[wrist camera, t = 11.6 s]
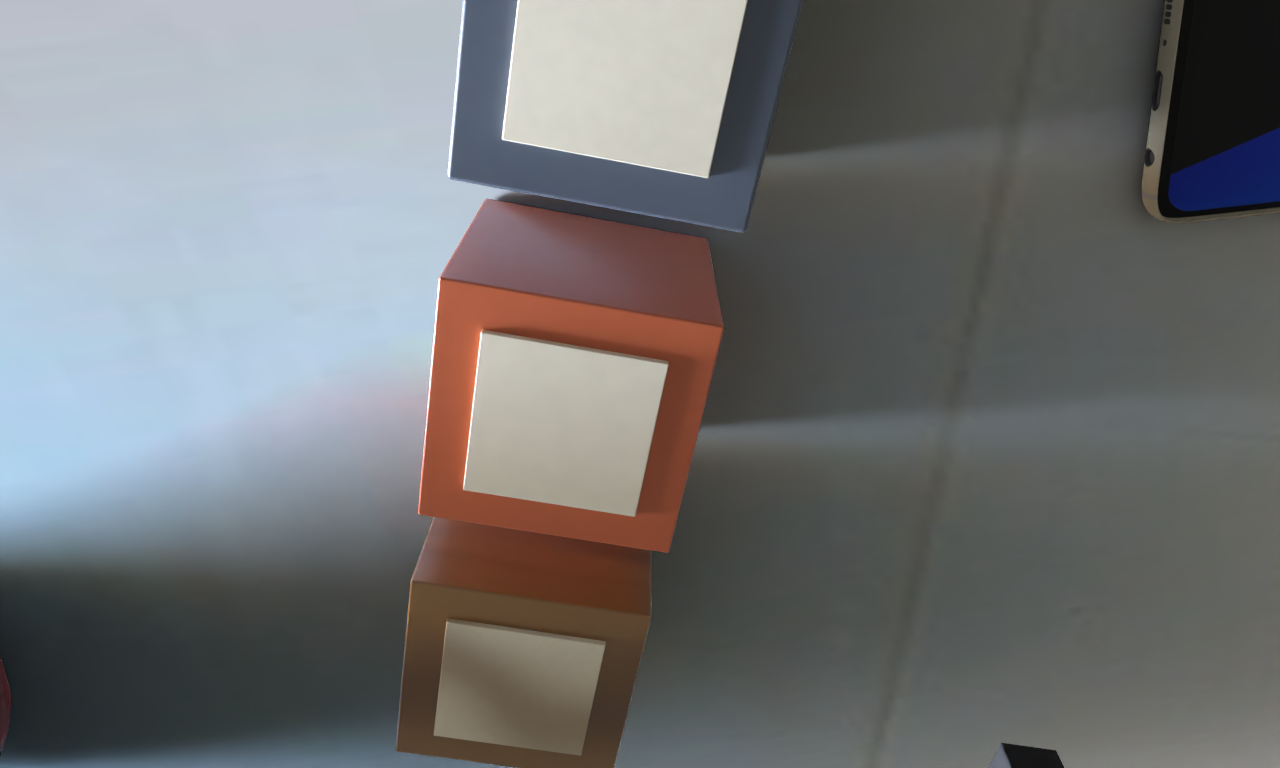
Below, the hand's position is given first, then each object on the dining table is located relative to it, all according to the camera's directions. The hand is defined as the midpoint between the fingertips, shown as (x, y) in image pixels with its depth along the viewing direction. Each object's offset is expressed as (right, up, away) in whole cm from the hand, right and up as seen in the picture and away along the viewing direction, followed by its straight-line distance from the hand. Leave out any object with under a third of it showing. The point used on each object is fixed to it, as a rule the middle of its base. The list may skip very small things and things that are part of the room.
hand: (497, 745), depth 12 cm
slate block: (+2, +14, +10) cm, 17 cm away
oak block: (-1, 0, +17) cm, 17 cm away
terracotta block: (0, +7, +14) cm, 15 cm away
